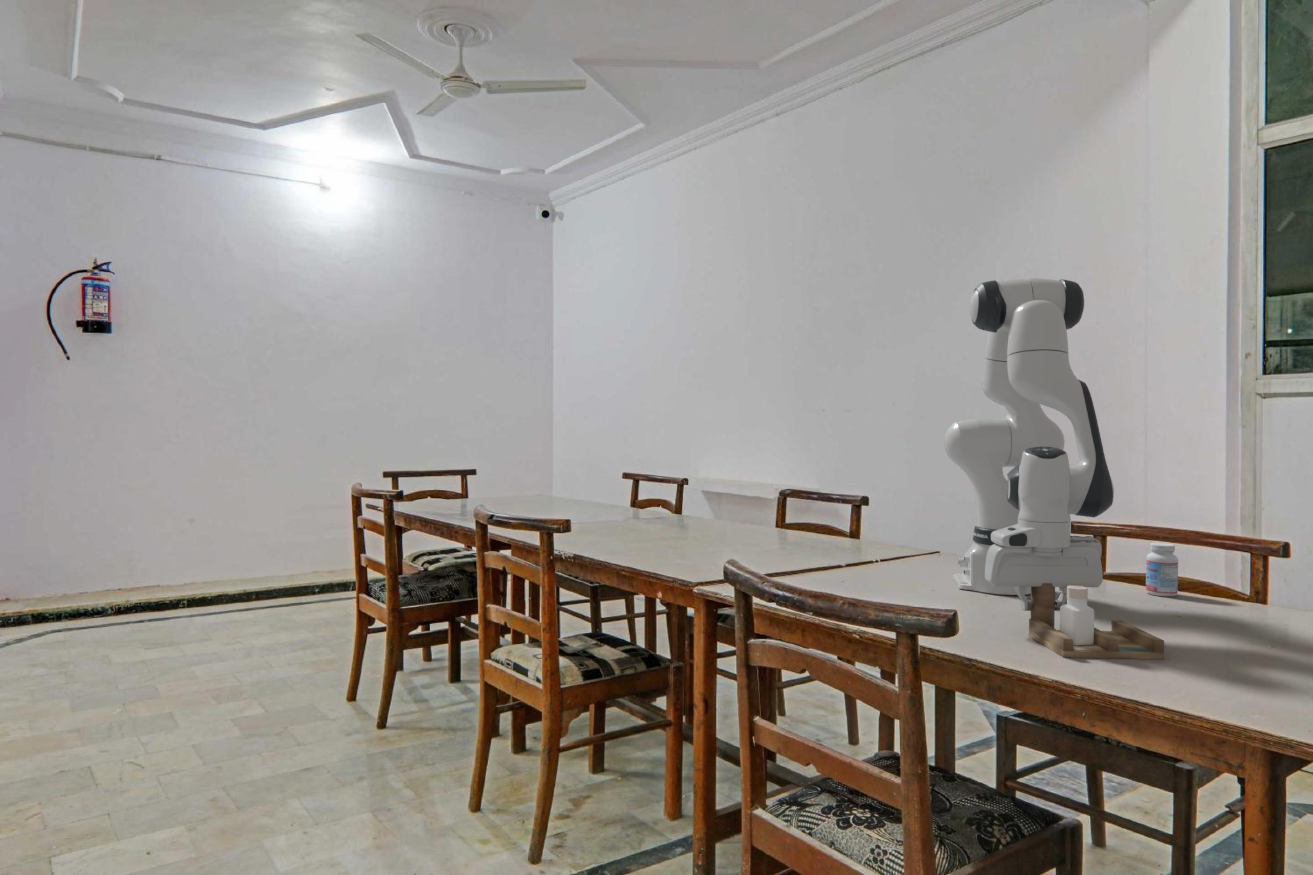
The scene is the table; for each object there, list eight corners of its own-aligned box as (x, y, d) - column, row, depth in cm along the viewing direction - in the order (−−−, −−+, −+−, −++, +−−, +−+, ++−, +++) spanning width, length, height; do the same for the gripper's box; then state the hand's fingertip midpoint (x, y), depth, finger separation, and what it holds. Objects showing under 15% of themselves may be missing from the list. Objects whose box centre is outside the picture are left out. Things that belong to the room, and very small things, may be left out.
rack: (1028, 635, 151) (1029, 618, 151) (1119, 636, 150) (1120, 619, 150) (1063, 657, 137) (1063, 638, 137) (1163, 658, 136) (1164, 640, 136)
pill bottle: (1140, 591, 190) (1141, 541, 190) (1169, 592, 189) (1170, 542, 189) (1152, 596, 184) (1153, 545, 184) (1182, 597, 183) (1183, 546, 183)
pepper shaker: (1057, 640, 143) (1058, 585, 143) (1077, 639, 144) (1078, 584, 144) (1075, 647, 139) (1076, 590, 139) (1095, 645, 140) (1096, 588, 140)
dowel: (1026, 627, 157) (1027, 579, 156) (1048, 627, 156) (1049, 579, 156) (1035, 632, 153) (1036, 583, 152) (1058, 632, 152) (1058, 583, 152)
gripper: (1093, 533, 157) (1092, 607, 157) (982, 532, 158) (981, 605, 158) (1110, 538, 150) (1108, 615, 151) (994, 537, 151) (993, 613, 152)
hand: (1042, 610), depth 154 cm, fingers open, 4 cm apart
